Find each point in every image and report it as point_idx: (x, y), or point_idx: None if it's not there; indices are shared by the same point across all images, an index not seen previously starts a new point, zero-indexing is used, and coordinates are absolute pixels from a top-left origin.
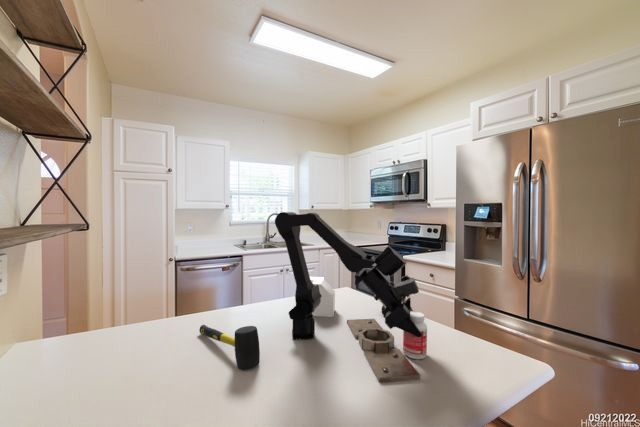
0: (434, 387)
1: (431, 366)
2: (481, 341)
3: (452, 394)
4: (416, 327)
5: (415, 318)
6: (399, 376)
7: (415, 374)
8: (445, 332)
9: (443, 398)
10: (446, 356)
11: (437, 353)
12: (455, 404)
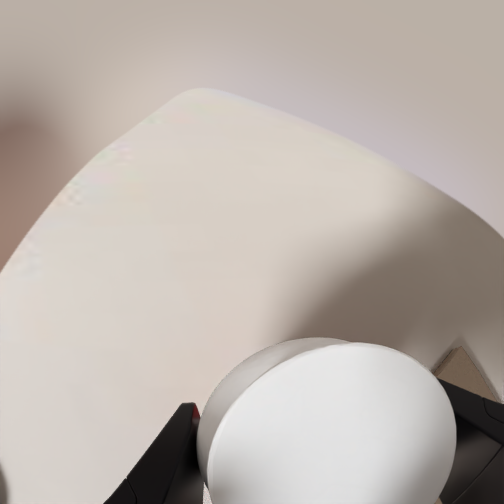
0: (460, 301)
1: (354, 333)
2: (71, 182)
3: (455, 254)
4: (459, 388)
5: (449, 420)
6: (494, 399)
7: (466, 361)
8: (22, 288)
9: (480, 273)
10: (230, 284)
11: (219, 322)
12: (479, 247)
